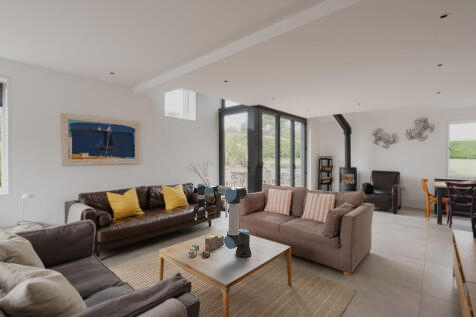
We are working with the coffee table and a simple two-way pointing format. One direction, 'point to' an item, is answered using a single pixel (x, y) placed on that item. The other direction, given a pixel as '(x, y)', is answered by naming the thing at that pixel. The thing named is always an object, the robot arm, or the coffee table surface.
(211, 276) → the coffee table surface
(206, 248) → the stack of blocks
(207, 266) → the coffee table surface
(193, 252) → the maple brick
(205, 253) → the walnut brick
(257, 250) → the coffee table surface
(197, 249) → the grey brick
